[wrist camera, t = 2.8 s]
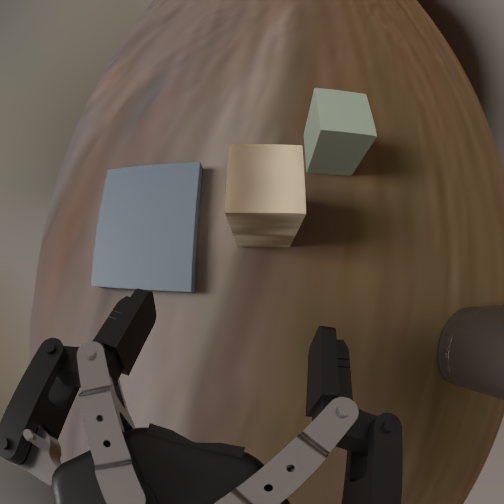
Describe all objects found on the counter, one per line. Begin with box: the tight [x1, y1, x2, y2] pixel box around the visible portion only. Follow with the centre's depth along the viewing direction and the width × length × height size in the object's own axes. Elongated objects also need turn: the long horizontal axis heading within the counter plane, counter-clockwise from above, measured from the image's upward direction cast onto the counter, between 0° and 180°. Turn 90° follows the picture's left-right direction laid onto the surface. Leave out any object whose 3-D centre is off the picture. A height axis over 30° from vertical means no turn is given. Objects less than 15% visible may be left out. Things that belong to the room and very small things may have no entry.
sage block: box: [304, 88, 377, 176], centre depth 25 cm, size 5×5×8 cm
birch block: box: [225, 144, 306, 247], centre depth 22 cm, size 5×5×10 cm
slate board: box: [91, 162, 203, 293], centre depth 27 cm, size 11×13×2 cm
